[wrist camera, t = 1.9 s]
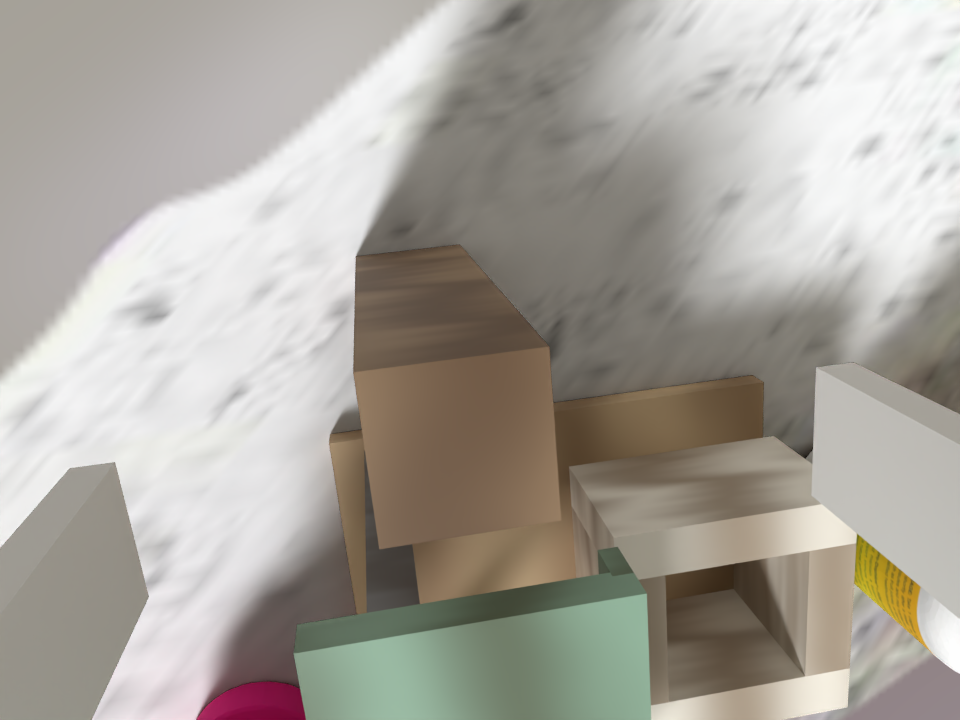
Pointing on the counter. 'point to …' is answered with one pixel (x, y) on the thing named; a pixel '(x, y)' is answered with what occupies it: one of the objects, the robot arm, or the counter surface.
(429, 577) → the awning station
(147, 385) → the counter surface
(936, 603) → the supplement bottle
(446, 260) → the walnut peg
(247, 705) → the pepper mill
